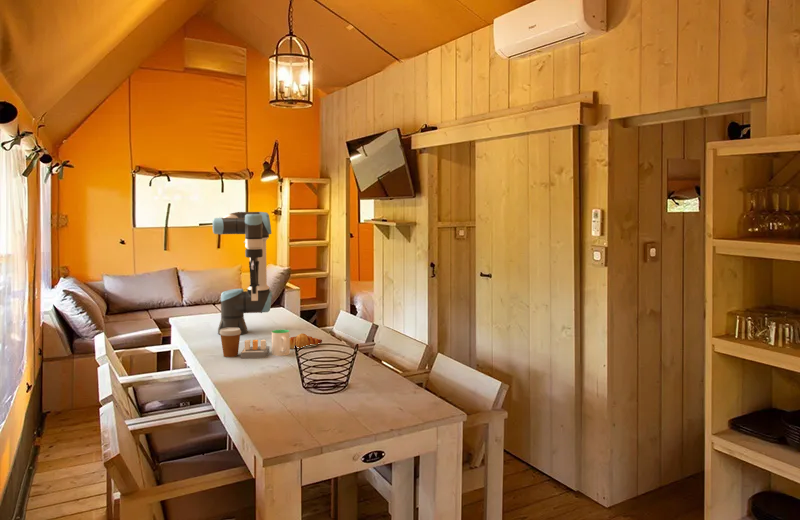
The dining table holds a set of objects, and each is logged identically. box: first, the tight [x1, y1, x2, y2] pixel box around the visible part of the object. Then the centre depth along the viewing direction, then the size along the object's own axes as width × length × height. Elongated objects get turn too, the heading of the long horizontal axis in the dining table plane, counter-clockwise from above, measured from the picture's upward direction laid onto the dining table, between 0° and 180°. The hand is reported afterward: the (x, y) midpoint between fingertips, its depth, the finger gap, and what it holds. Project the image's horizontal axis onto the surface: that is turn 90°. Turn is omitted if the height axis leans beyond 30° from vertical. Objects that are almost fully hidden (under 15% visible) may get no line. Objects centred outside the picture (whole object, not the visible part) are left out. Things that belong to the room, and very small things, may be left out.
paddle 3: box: [260, 339, 267, 350], centre depth 269 cm, size 3×2×4 cm, turn 6°
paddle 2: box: [252, 339, 259, 350], centre depth 269 cm, size 3×2×4 cm, turn 6°
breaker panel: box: [240, 345, 270, 359], centre depth 269 cm, size 12×11×3 cm
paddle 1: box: [244, 339, 251, 350], centre depth 268 cm, size 3×2×4 cm, turn 6°
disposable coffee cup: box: [219, 327, 242, 358], centre depth 267 cm, size 10×10×12 cm
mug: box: [271, 329, 291, 357], centre depth 270 cm, size 12×8×10 cm, turn 31°
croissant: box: [290, 332, 323, 350], centre depth 285 cm, size 21×10×8 cm
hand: (254, 300), depth 267 cm, fingers closed
